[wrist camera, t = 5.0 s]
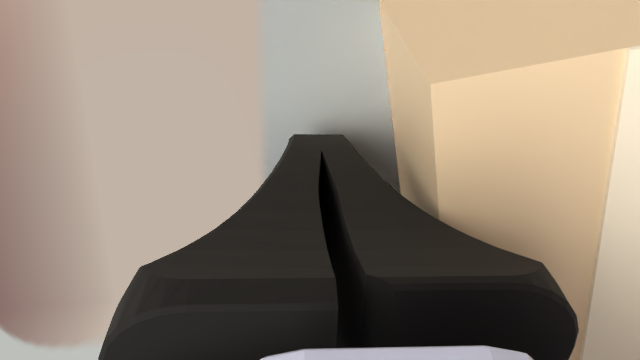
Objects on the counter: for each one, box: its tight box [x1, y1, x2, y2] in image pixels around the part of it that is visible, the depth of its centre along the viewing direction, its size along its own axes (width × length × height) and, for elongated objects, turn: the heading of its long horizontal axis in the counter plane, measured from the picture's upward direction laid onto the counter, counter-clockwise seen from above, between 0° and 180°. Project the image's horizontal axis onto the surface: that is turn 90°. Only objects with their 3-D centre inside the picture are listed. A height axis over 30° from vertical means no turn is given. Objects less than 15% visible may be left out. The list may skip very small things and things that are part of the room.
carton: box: [379, 0, 640, 360], centre depth 11 cm, size 9×7×5 cm
